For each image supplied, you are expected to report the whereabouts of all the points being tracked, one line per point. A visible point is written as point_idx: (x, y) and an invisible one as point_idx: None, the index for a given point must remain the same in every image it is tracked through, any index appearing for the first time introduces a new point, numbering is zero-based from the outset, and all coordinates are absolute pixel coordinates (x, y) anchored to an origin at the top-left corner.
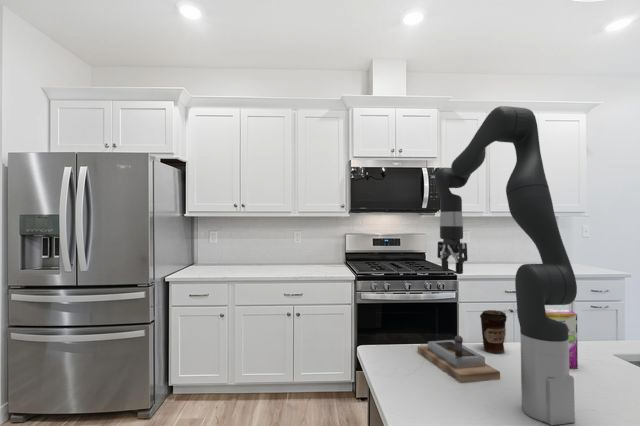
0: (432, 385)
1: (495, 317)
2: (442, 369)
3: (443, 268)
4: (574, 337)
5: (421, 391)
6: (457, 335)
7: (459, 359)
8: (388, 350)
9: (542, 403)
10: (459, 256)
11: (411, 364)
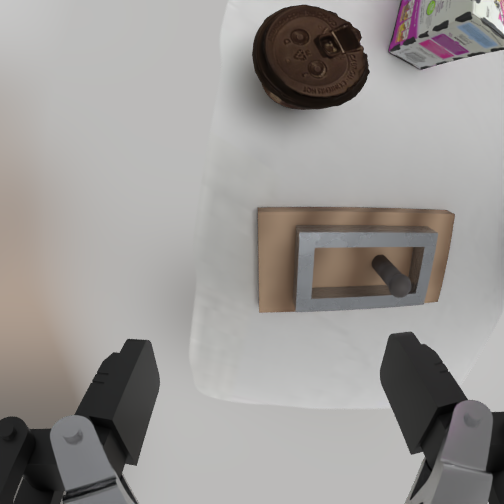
0: None
1: (360, 81)
2: None
3: (154, 395)
4: None
5: None
6: (401, 292)
7: (424, 297)
8: (231, 358)
9: None
10: (495, 487)
11: (327, 344)
